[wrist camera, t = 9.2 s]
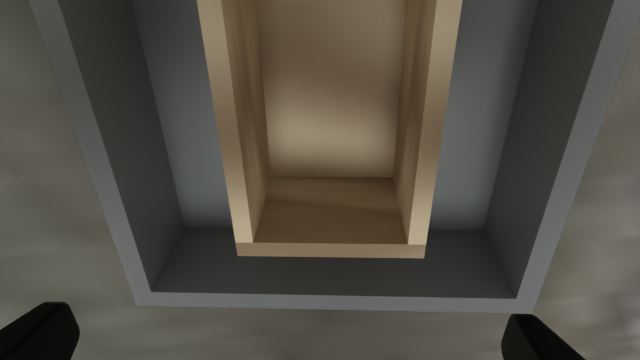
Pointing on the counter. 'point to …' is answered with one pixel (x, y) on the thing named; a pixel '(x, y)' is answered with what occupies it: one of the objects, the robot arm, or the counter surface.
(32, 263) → the counter surface
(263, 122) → the birch crate
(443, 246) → the charcoal crate
